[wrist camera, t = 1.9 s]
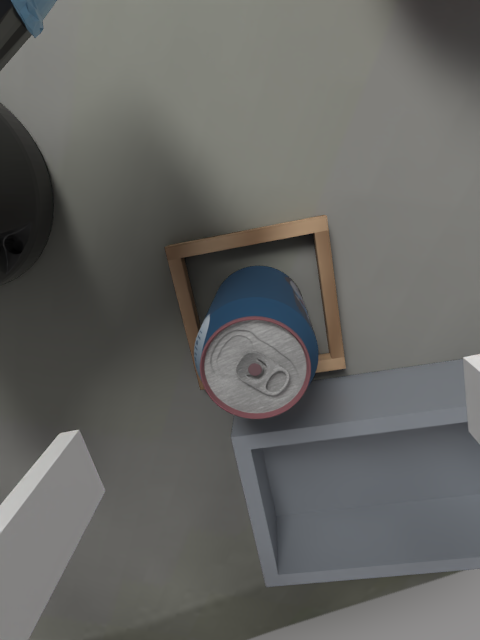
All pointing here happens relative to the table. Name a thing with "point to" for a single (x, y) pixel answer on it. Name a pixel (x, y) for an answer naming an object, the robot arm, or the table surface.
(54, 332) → the table surface
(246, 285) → the soda can
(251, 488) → the slate gray bin
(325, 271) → the walnut rim
